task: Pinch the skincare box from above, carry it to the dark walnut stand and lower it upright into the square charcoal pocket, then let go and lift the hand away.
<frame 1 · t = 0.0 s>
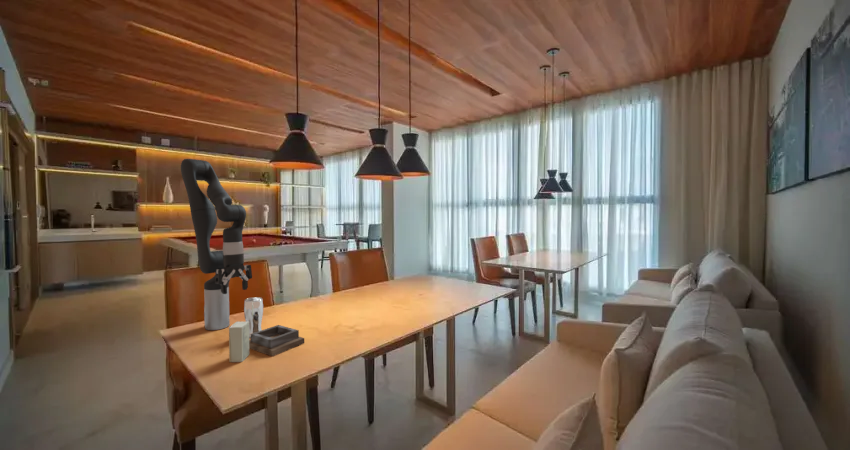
hand: (234, 291, 145), 17 cm above the table, fingers open, 8 cm apart
skincare box: (239, 359, 121), on the table
beer glass: (254, 335, 143), on the table
pocket stand: (275, 345, 133), on the table
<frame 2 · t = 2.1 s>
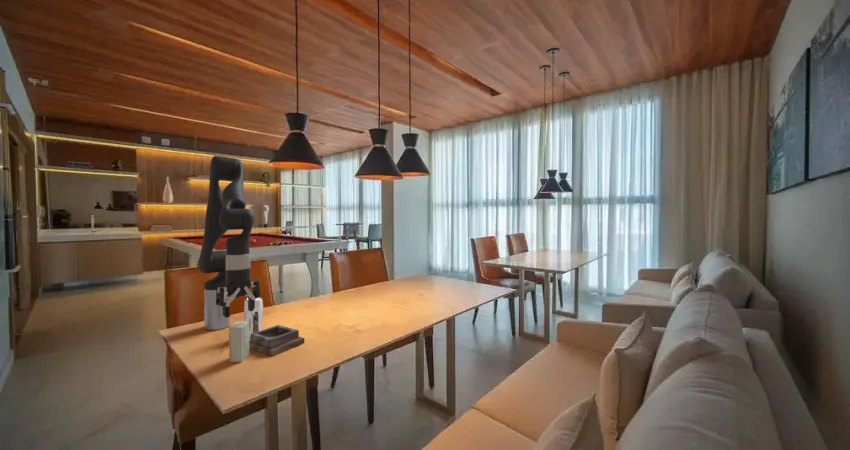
hand: (239, 313, 120), 16 cm above the table, fingers open, 8 cm apart
nothing on the table moved.
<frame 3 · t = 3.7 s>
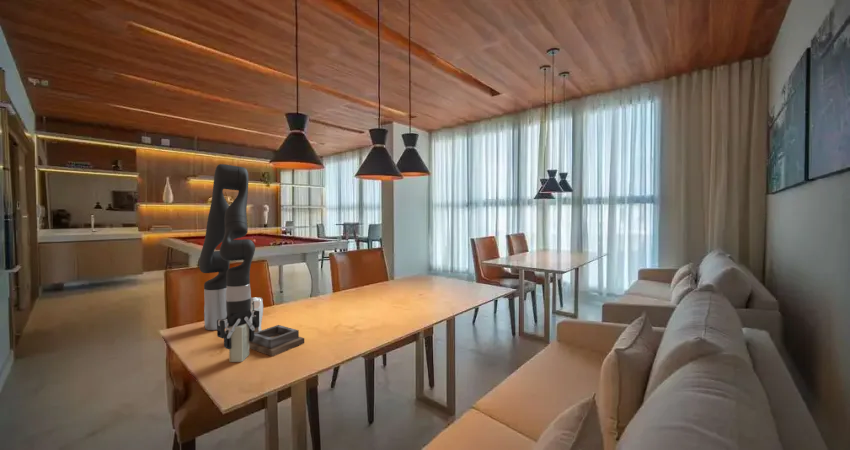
hand: (239, 344, 121), 5 cm above the table, fingers closed on skincare box, 7 cm apart
skincare box: (239, 359, 121), on the table, touching gripper
everything else where it was.
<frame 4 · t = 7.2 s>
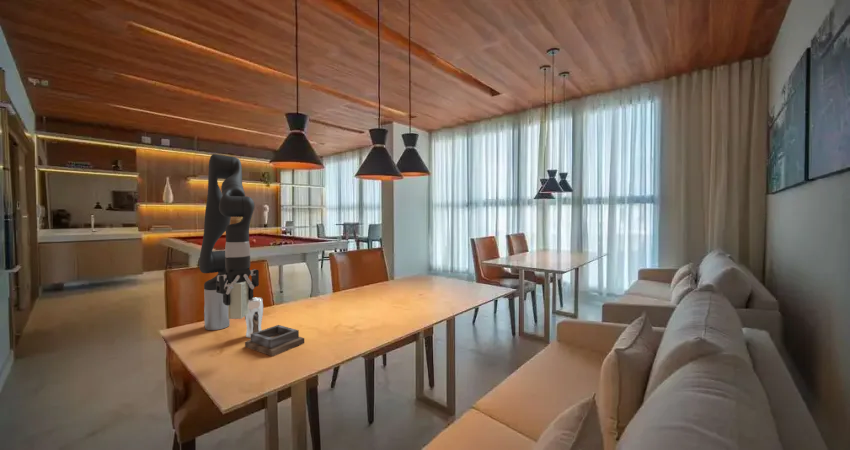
hand: (238, 302, 120), 20 cm above the table, fingers closed on skincare box, 7 cm apart
skincare box: (238, 316, 120), point 15 cm above the table, touching gripper
everything else where it was.
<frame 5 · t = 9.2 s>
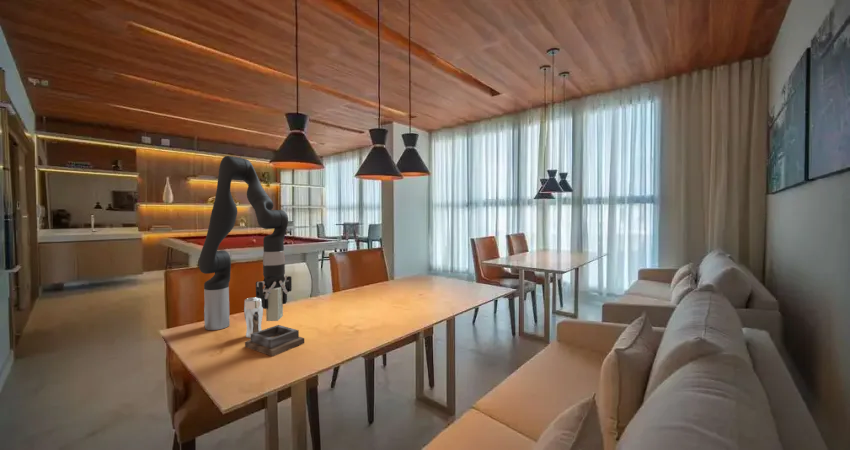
hand: (274, 305, 132), 15 cm above the table, fingers closed on skincare box, 7 cm apart
skincare box: (274, 319, 132), point 10 cm above the table, touching gripper
everything else where it was.
when the fingers open (8 cm above the table, at t = 10.9 s): skincare box drops 1 cm, resting on pocket stand.
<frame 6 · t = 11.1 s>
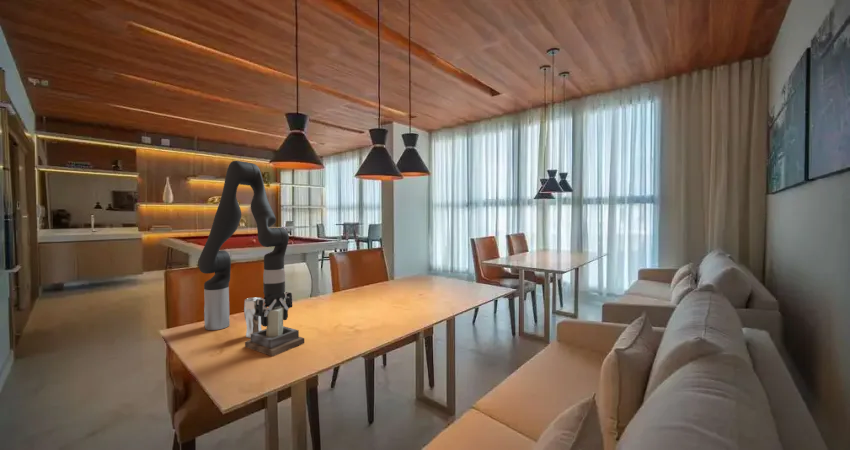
hand: (274, 322, 132), 9 cm above the table, fingers open, 8 cm apart
skincare box: (274, 340, 133), point 2 cm above the table, touching pocket stand
everything else where it was.
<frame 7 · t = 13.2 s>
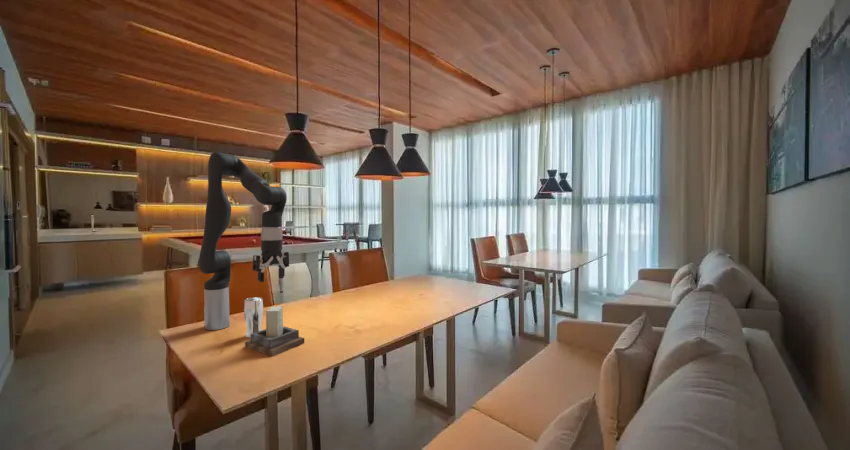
hand: (271, 280, 135), 24 cm above the table, fingers open, 8 cm apart
nothing on the table moved.
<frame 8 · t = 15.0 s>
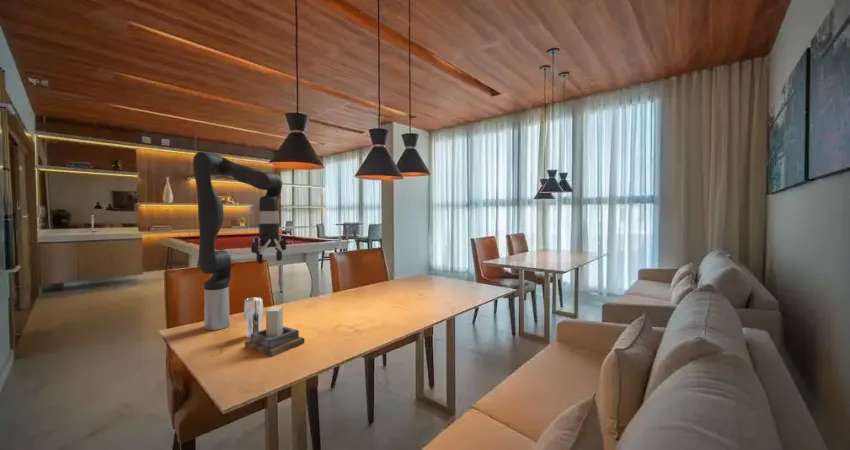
hand: (269, 262, 142), 30 cm above the table, fingers open, 8 cm apart
nothing on the table moved.
at the end: skincare box 0.1 cm off-centre on the pocket stand, point 1.8 cm above the pocket stand's base; skincare box tilted 0°; the gripper is holding nothing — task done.
